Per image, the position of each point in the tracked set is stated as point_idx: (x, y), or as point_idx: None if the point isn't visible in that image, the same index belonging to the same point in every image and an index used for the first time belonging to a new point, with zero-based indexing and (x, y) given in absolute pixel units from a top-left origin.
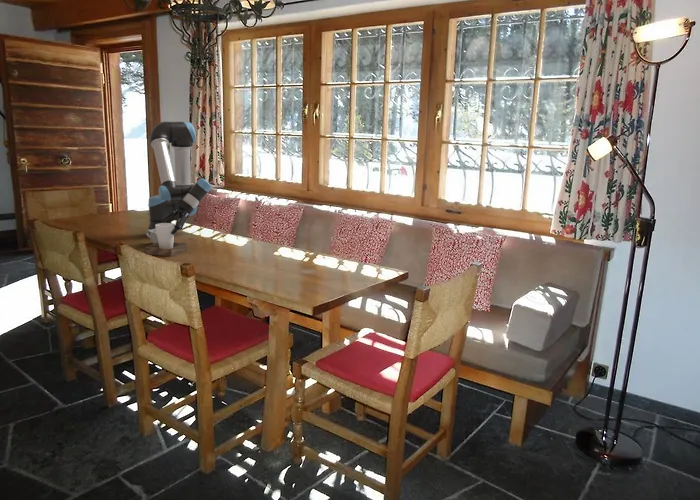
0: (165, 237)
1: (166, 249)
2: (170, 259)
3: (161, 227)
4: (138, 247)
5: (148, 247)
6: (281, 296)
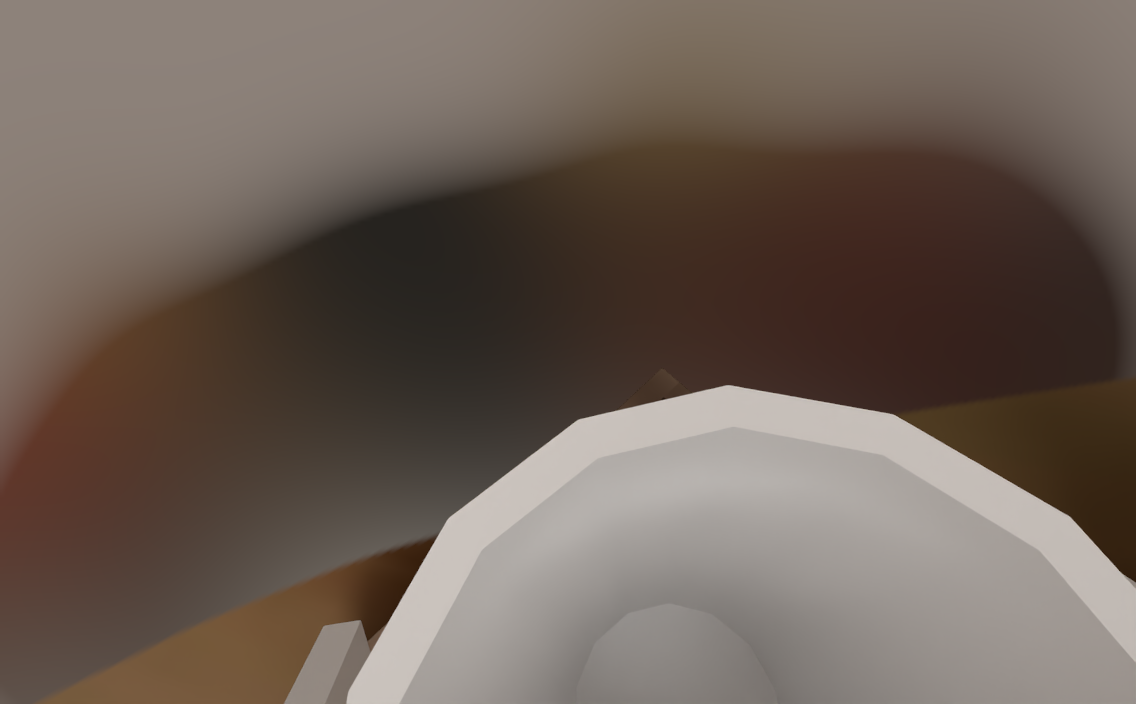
0: (326, 627)
1: (380, 633)
2: (196, 625)
3: (450, 546)
4: (1093, 406)
5: (623, 408)
6: None
